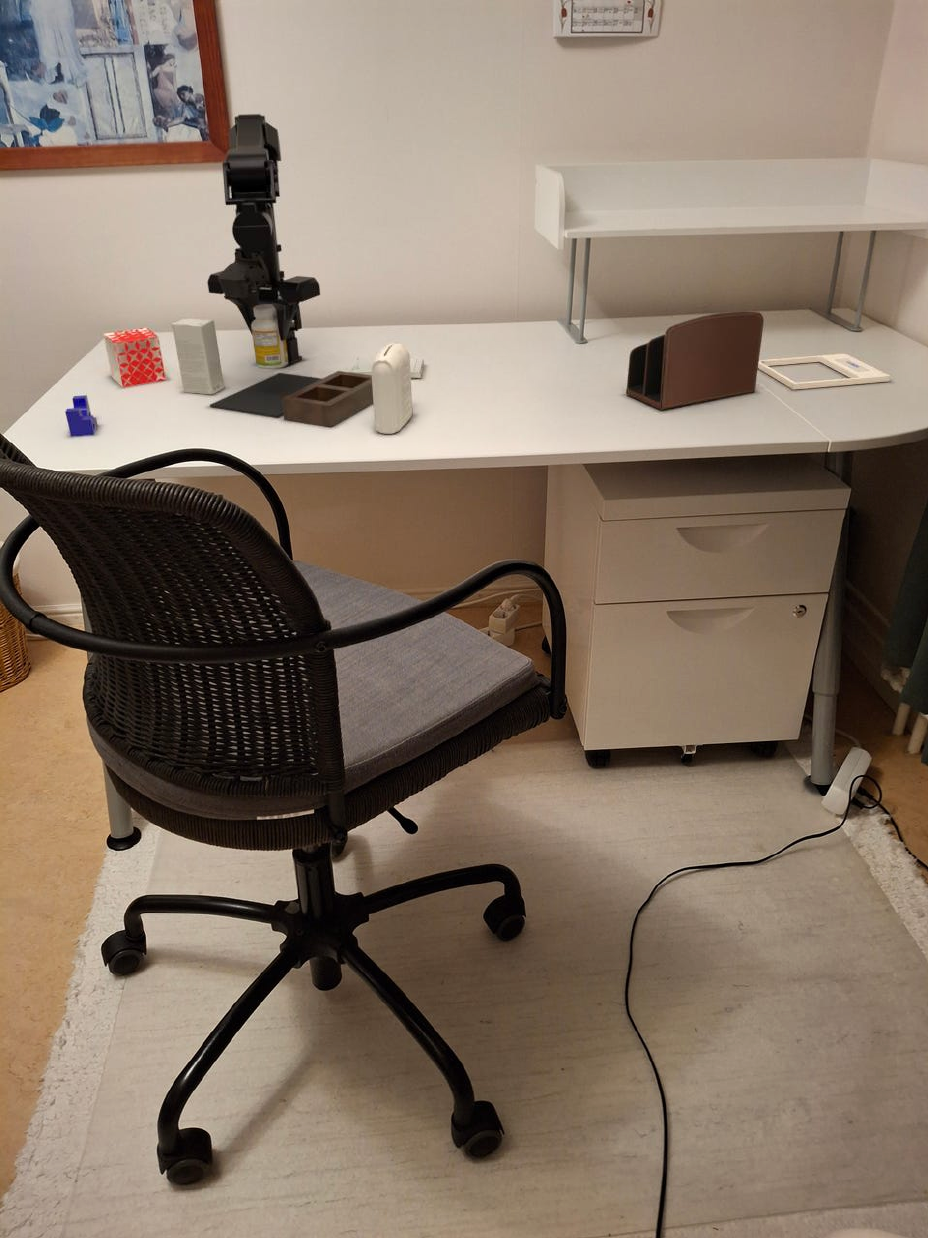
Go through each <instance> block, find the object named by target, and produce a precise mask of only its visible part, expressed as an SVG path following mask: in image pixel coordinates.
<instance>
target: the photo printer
mask: <svg viewBox="0 0 928 1238" xmlns="http://www.w3.org/2000/svg"><path fill="white" fill-rule="evenodd" d="M373 359H374V361H373V364H372V387H373V402H374V403H373V415H374V416H373V417H374V427H375V431H376V432H378V433H380V434H388V435H390V434H395V433H397V432H399V431H400V430H402V428H403V427H404V426H405V425H406V424H407V423H408V421H410V419H411V418H412V415H413V393H412V392H413V391H412V378H411V371H410V359H411V355H410V352H409V350H408V348H407V347H406V346H405V345H404V344H402V343H393V342H392V343H388V344H386V345H384V346H383V347H382V348H381V349H380V350H379V351H378V352H377V354H376V356H375V357H374V358H373Z"/></svg>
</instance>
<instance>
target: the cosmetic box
mask: <svg viewBox="0 0 928 1238" xmlns="http://www.w3.org/2000/svg"><path fill="white" fill-rule="evenodd" d="M171 328H172V332H173V337H174V343H175V349H176V354H177V361H178V367H179V373H180V378H181V384H182V390H183V392H184V393H189V394H191V393H192V394H200V395H201V394H202V395H214V394H216V393H218V392H219V391H222V390H224V389H225V383H224V376H223V370H222V363H221V358H220V352H219V343H218V337H217V332H216V331H217V330H216V325H215V321H214V319H199V318H187V317H186V318H183V319H180V320H178V321H176V322H173V323H171Z"/></svg>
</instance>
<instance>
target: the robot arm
mask: <svg viewBox="0 0 928 1238" xmlns="http://www.w3.org/2000/svg"><path fill="white" fill-rule="evenodd" d="M279 136H280V135H279V131H278V129H277V128H275V127H274V126H273V125H271V124H270V123H269V122H267V120H266V115H262V114H260V113H252V114H250V113H249V114H247V113H246V114H238V115H237V116H234V125H233V126H232V127H231V128H230V129H229V130H228V137H229V138H228V139H229V148H230V149H228V150H227V152H226V155H225V161H222V177H223V187H224V188H223V190H224V203H225V206H235V209H234V212H235V217H234V220H233V222H232V226H231V232H232V237H233V239H234V242H235V243H236V244H237V245H238V247H236V248H234V261H233V262H232V263H230V264H229V265H227V267H226V268H224V269H223V270H221V271H217V272H213V273H211V274H209V276H208V279H207V281H206V283H207V290H208V293H209V294H215V295H217V294H218V295H224V296H223V298H224V299H225V300H228V301H230V302H231V303H232V304H234V305H235V306H236V307H237V309H238V311H239V313H240V314H241V316H242V318H243V321H244V322H245V324H246V327H247V328H248V330H249V332H250V334H251V335H252V328H251V324H252V322H253V321H254V320H255V319H256V317H255V316H254V310H253V308H254V307H255V306H258V305H263V304H272V305H273V306H274V308H275V309H276V312H277V321H278V329H279V335H280V339H281V341H284V340H286V347H287V355H288V364H287V365H286V366H284V367H283V368H286V367H288V366H291V365H293V364H295V363H297V362H299V361H301V360H303V356H302V355H300V353H299V345H298V338H297V336H296V333H295V332H298V331H299V330H301V329H303V326H302V325H303V323H302V316H301V309H300V303H302V302H305V301H308V300H311V299H314V298H317V297H319V296H321V288H320V287H321V286H320V283H319V281H318V280H317V279H316V277H312V276H301V275H296V276H293V277H289V278H288V279H285V277H286V276H285V270H281V266H280V265H281V264H280V255H279V254H280V252H282V251H283V249H282V244H280V243H279V244H278V235H277V225H276V216H275V215H276V214H275V207H274V204H277V198H281V192H280V182H279V181H280V180H279V173H280V170H279V162H282V152H281V142H280V138H279Z"/></svg>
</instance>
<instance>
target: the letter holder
mask: <svg viewBox="0 0 928 1238" xmlns="http://www.w3.org/2000/svg"><path fill="white" fill-rule="evenodd" d="M764 321H765V320H764V316H763V314H762V313H760V312H759V311H758V312H757V311H731V312H720V313H714V314H713V313H711V314H708V315H703V316H699V317H695V318H692V319H689V320H685V321H682V322H679V323H676V324H673V325H671V326H669V327H668V328H667V329H666V330H665V333H664V334H661V335H658V336H656V337H653V338H651V339H650V340H649V341H648V342H647V343H644V344H640V345H639V346H635V347H634V348H633V349H632V350H631V351H630V353H629V361H628V368H627V369H628V371H627V381H626V388H625V389H626V390H625V393H626V395H627V396H629V397H631V398H634V399H636V400H638V401H640V402H642V403H644V404H646V405H648V406H651V407H653V408H655V409H657V410H659V411H665V410H668V409H674V408H680V407H683V406H684V407H685V406H689V405H695V404H699V403H704V402H710V401H716V400H721V399H725V398H731V397H736V396H742V395H747V394H753V393H755V391H756V388H757V387H756V385H757V377H758V369H759V368H758V362H759V360H760V354H761V346H762V340H763V332H764Z"/></svg>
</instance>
